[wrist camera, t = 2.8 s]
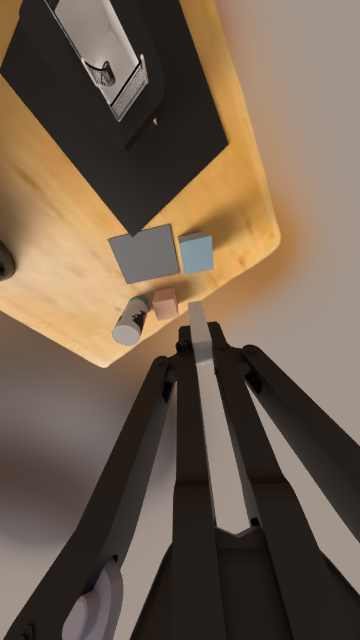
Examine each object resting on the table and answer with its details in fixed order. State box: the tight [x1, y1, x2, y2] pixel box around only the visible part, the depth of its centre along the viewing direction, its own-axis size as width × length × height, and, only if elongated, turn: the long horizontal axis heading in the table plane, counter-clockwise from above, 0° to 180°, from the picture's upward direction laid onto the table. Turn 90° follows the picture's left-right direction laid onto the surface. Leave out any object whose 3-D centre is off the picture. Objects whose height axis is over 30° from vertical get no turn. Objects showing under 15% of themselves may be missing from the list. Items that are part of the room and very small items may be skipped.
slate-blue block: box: [178, 231, 214, 275], centre depth 33 cm, size 6×6×12 cm
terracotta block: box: [152, 287, 178, 321], centre depth 43 cm, size 6×6×8 cm
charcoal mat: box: [108, 224, 179, 284], centre depth 38 cm, size 16×12×1 cm
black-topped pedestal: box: [0, 0, 228, 238], centre depth 19 cm, size 28×26×13 cm
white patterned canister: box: [112, 297, 149, 346], centre depth 41 cm, size 7×7×15 cm
